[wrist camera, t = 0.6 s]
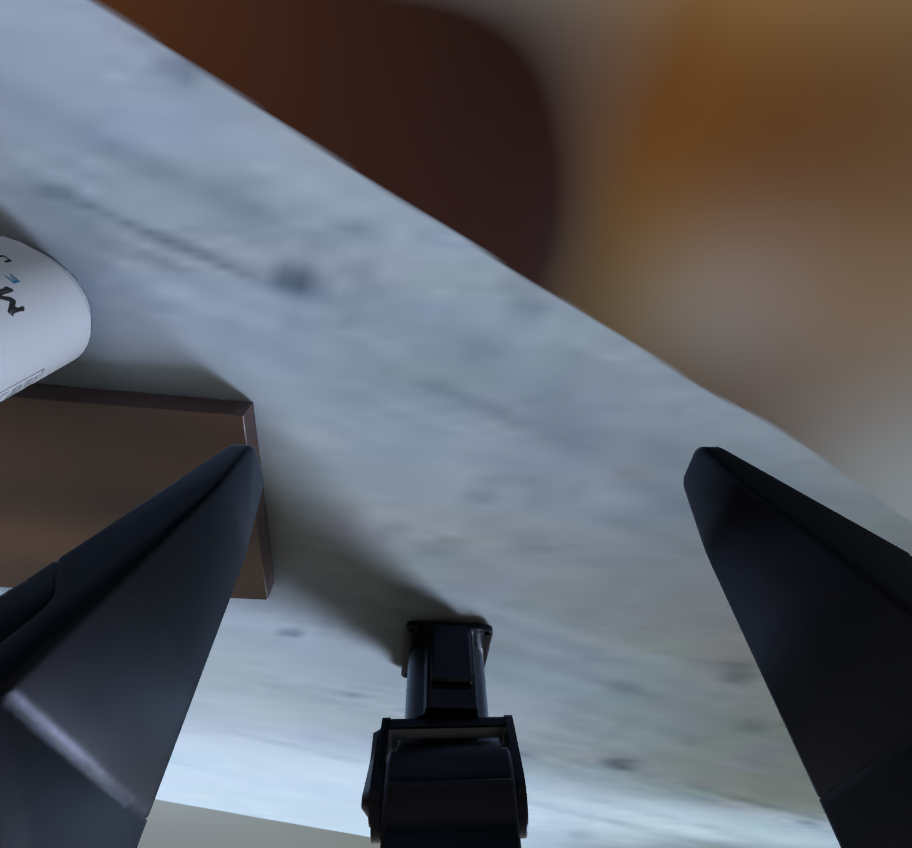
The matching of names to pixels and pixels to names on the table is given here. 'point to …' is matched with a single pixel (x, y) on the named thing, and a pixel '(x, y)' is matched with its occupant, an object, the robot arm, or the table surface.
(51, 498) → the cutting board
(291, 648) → the table surface
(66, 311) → the energy drink can
